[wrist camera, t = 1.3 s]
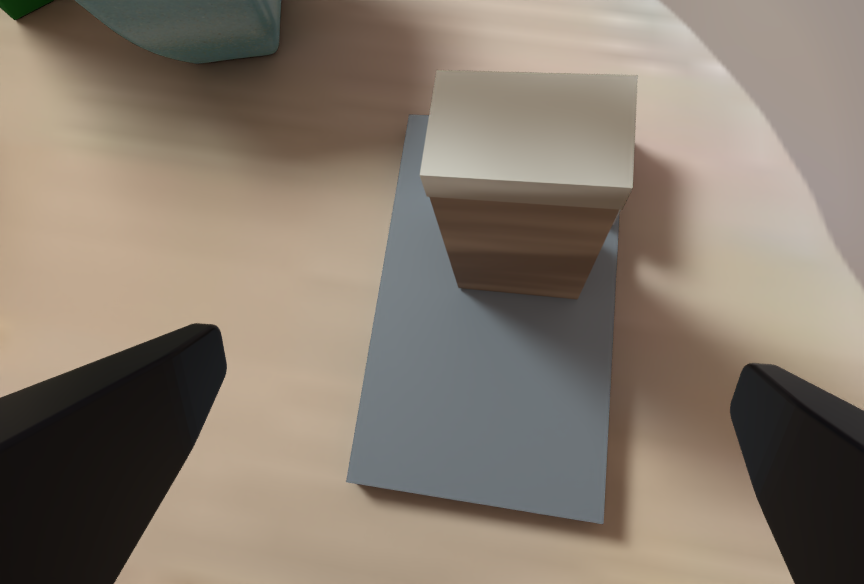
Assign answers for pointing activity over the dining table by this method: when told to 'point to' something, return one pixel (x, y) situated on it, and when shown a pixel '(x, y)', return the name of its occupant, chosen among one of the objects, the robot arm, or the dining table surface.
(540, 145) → the block
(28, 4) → the milk carton
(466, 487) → the slate board
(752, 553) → the dining table surface
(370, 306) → the dining table surface
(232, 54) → the flower pot
